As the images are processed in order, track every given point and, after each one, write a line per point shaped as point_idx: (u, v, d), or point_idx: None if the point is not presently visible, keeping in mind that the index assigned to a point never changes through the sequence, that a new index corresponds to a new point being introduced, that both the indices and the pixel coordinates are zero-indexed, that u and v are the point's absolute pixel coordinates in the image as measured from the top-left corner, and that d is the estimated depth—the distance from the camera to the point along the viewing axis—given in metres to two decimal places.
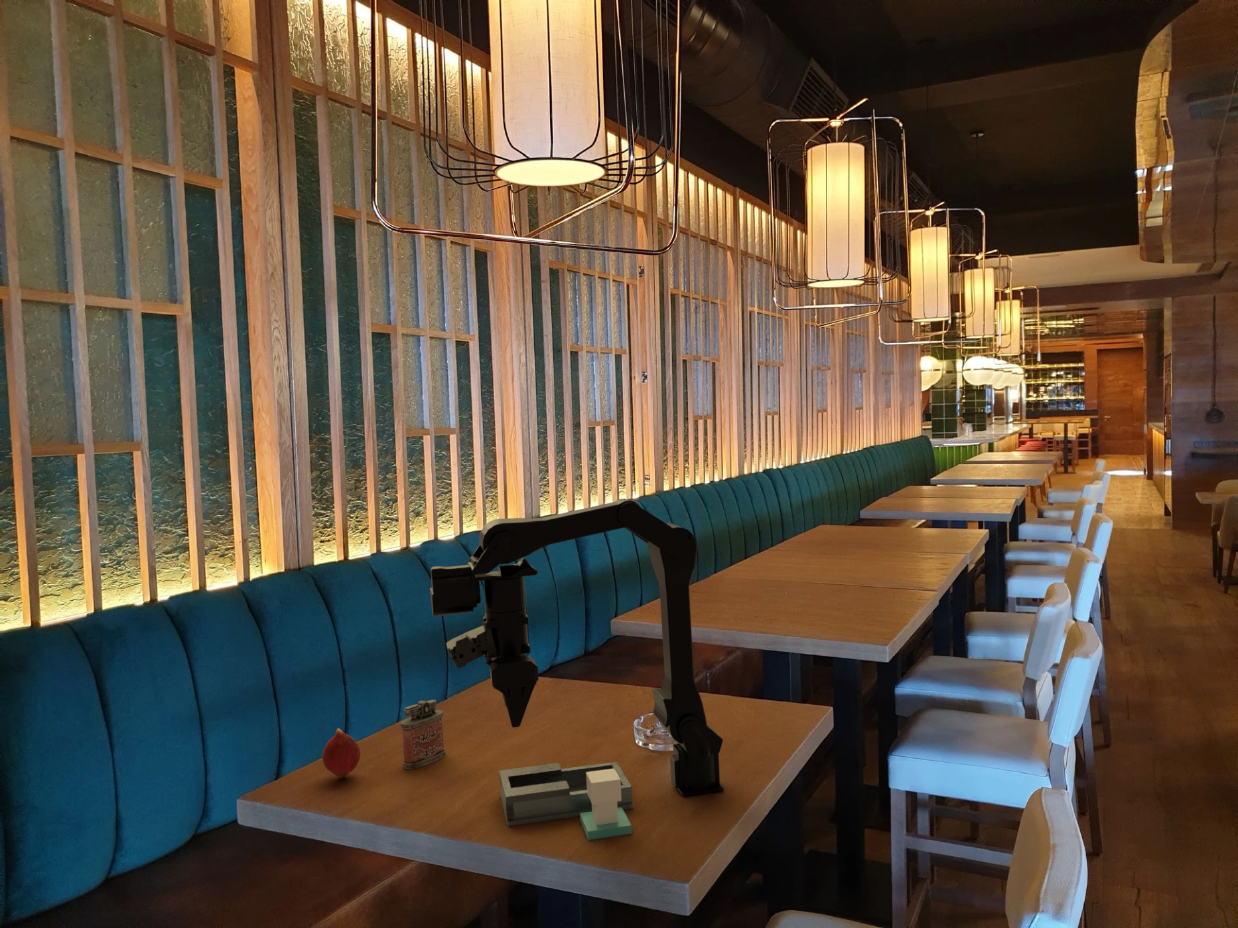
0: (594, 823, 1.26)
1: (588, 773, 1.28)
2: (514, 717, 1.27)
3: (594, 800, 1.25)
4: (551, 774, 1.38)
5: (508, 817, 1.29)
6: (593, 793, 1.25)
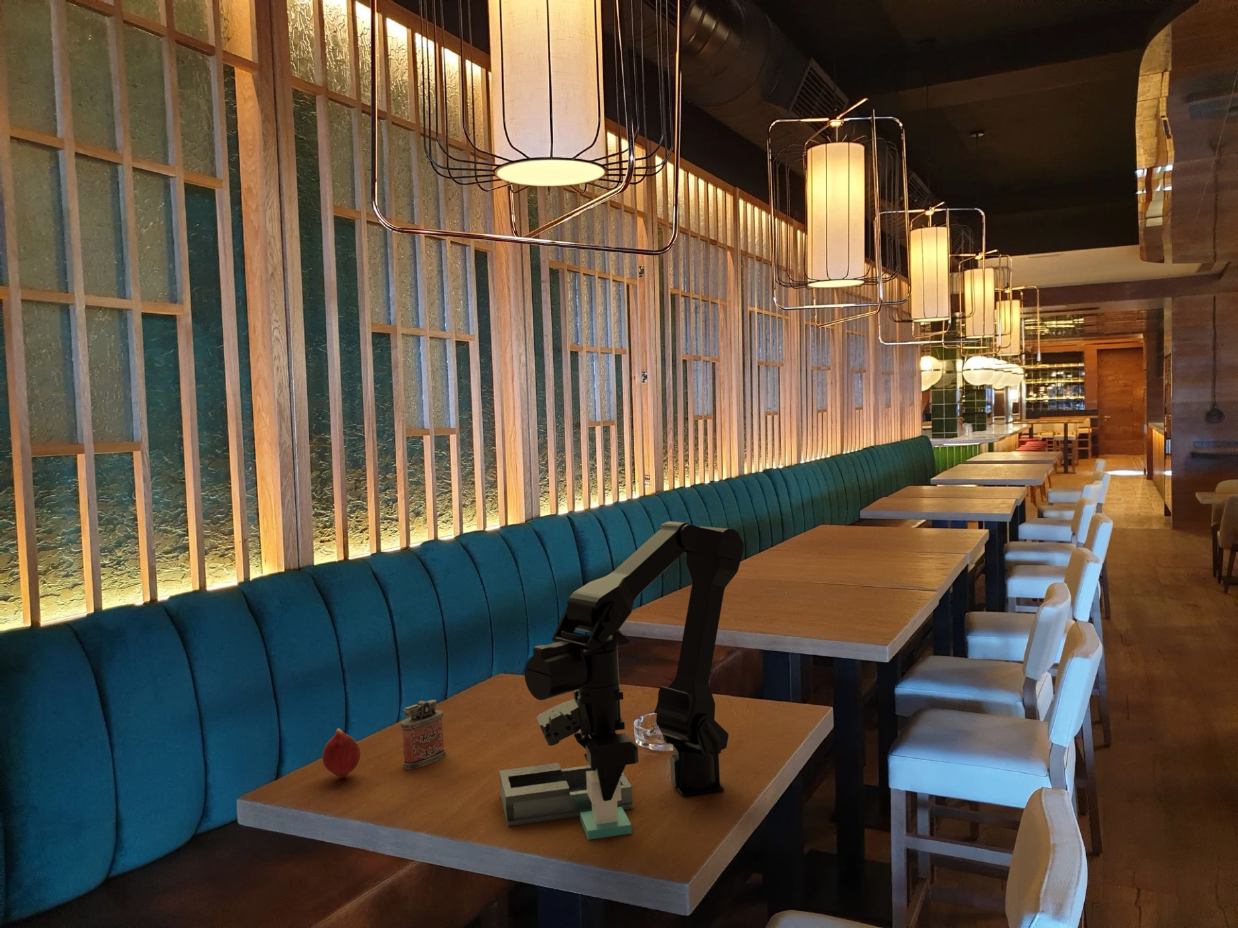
0: (594, 822, 1.26)
1: (588, 772, 1.28)
2: (606, 791, 1.24)
3: (594, 799, 1.25)
4: (551, 774, 1.38)
5: (508, 817, 1.29)
6: (593, 792, 1.25)
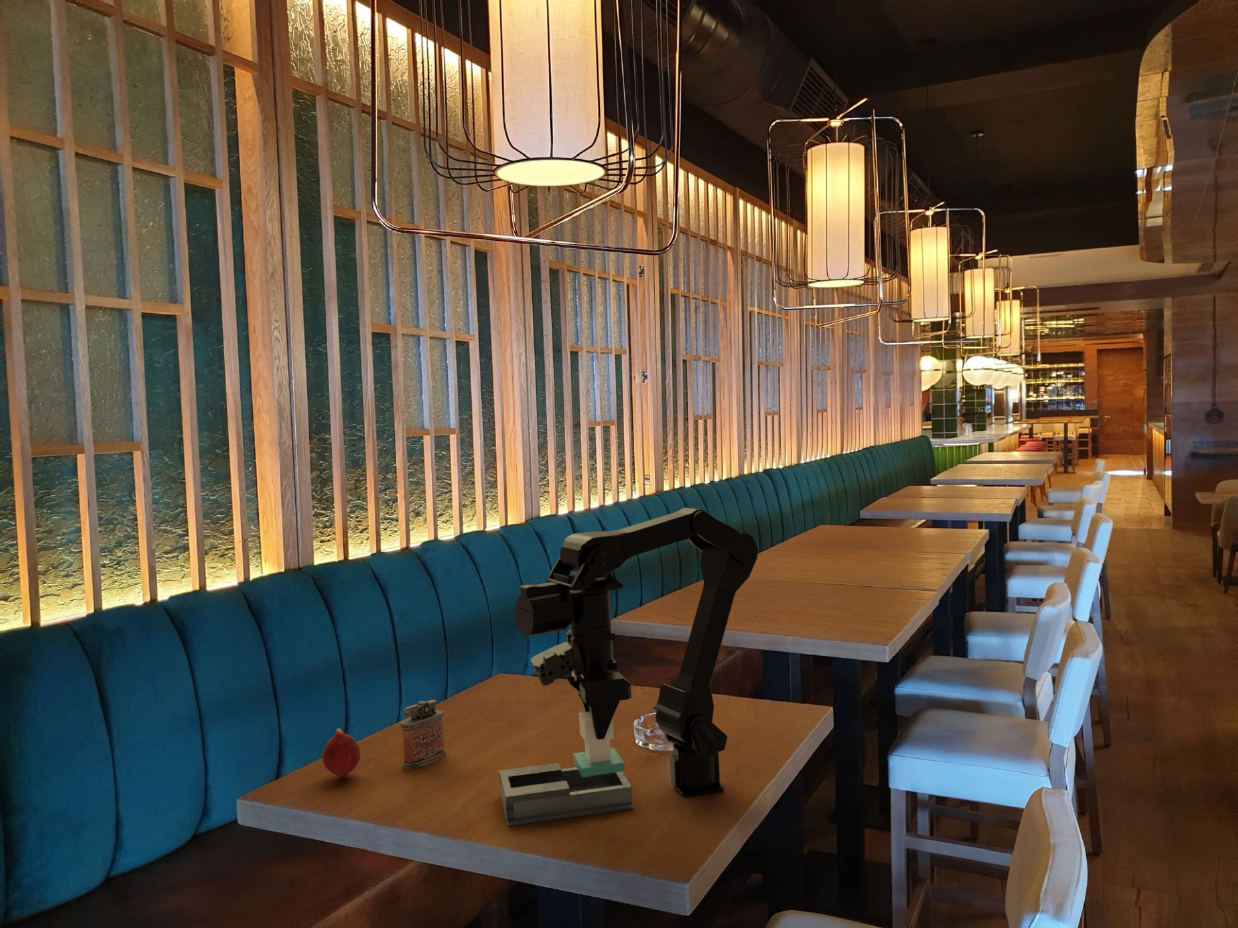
0: (587, 761, 1.29)
1: (581, 713, 1.31)
2: (599, 730, 1.27)
3: (587, 738, 1.28)
4: (551, 774, 1.38)
5: (508, 817, 1.29)
6: (586, 731, 1.28)
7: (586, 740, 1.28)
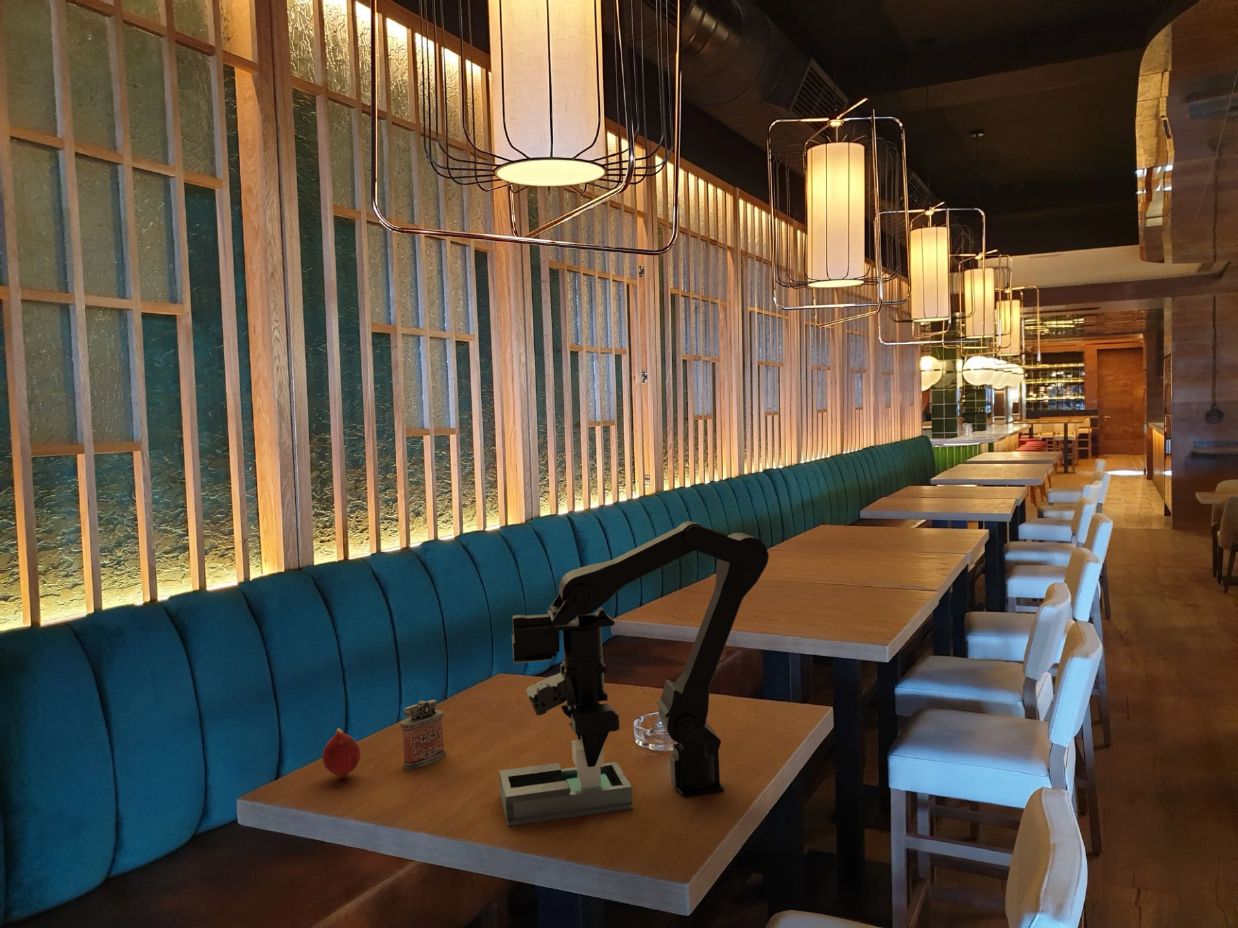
0: (579, 787, 1.36)
1: (573, 741, 1.38)
2: (590, 758, 1.34)
3: (579, 766, 1.34)
4: (551, 774, 1.38)
5: (508, 817, 1.29)
6: (578, 759, 1.34)
7: (577, 767, 1.34)
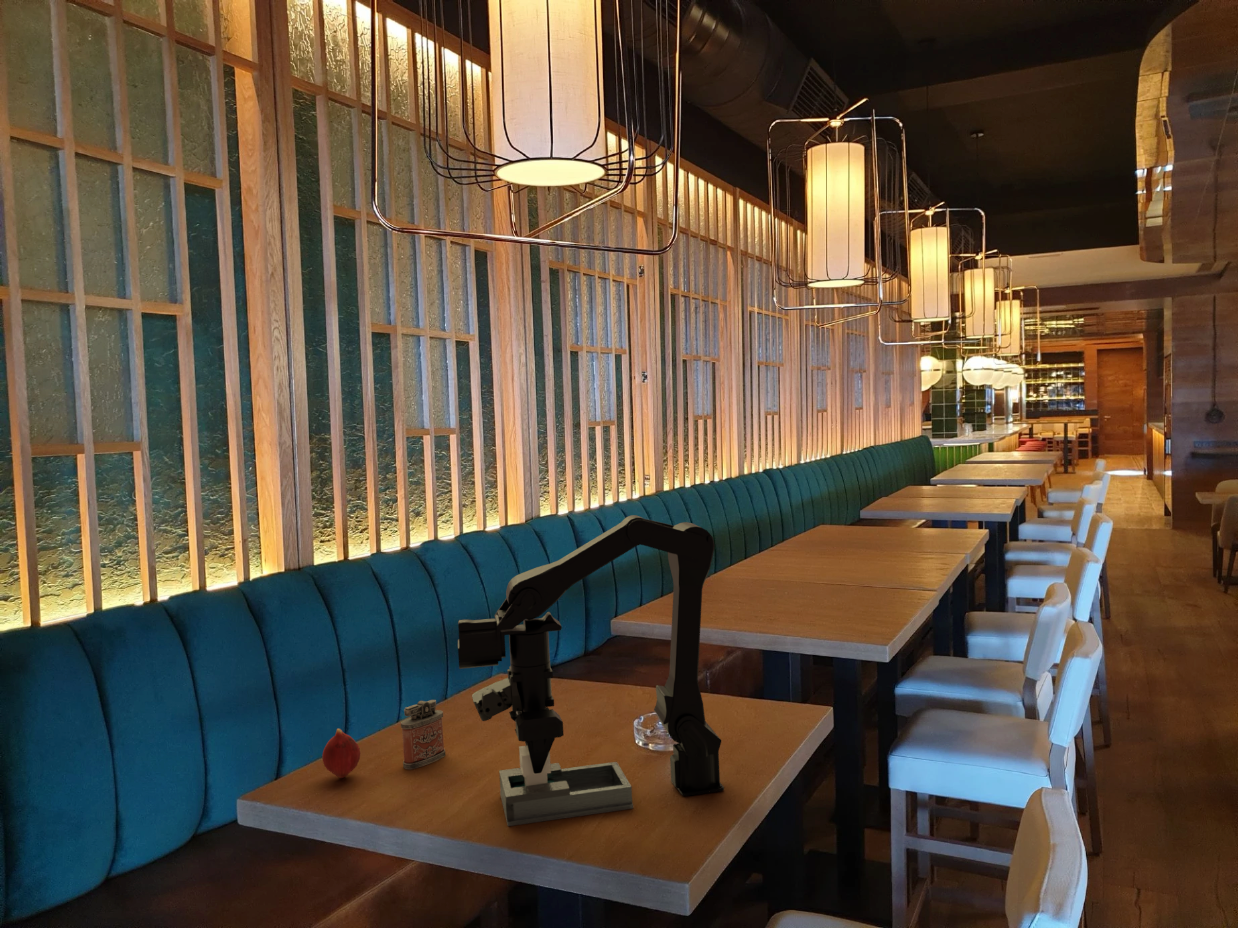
0: None
1: (521, 747, 1.36)
2: (536, 764, 1.32)
3: (525, 772, 1.33)
4: (551, 774, 1.38)
5: (508, 817, 1.29)
6: (524, 765, 1.33)
7: (523, 773, 1.33)
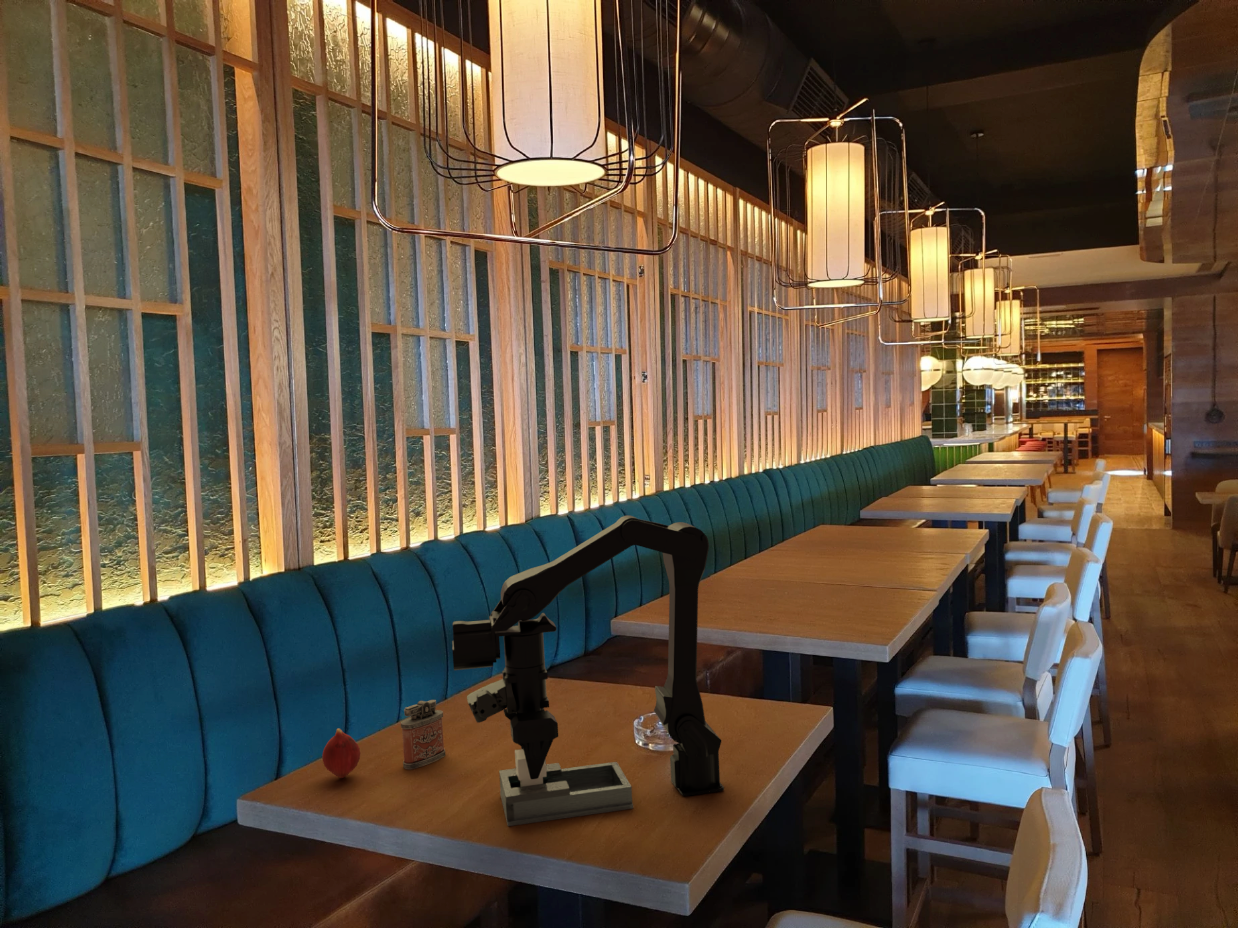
0: None
1: (516, 750, 1.36)
2: (532, 770, 1.30)
3: (520, 776, 1.33)
4: (551, 774, 1.38)
5: (508, 817, 1.29)
6: (519, 769, 1.32)
7: (519, 777, 1.33)
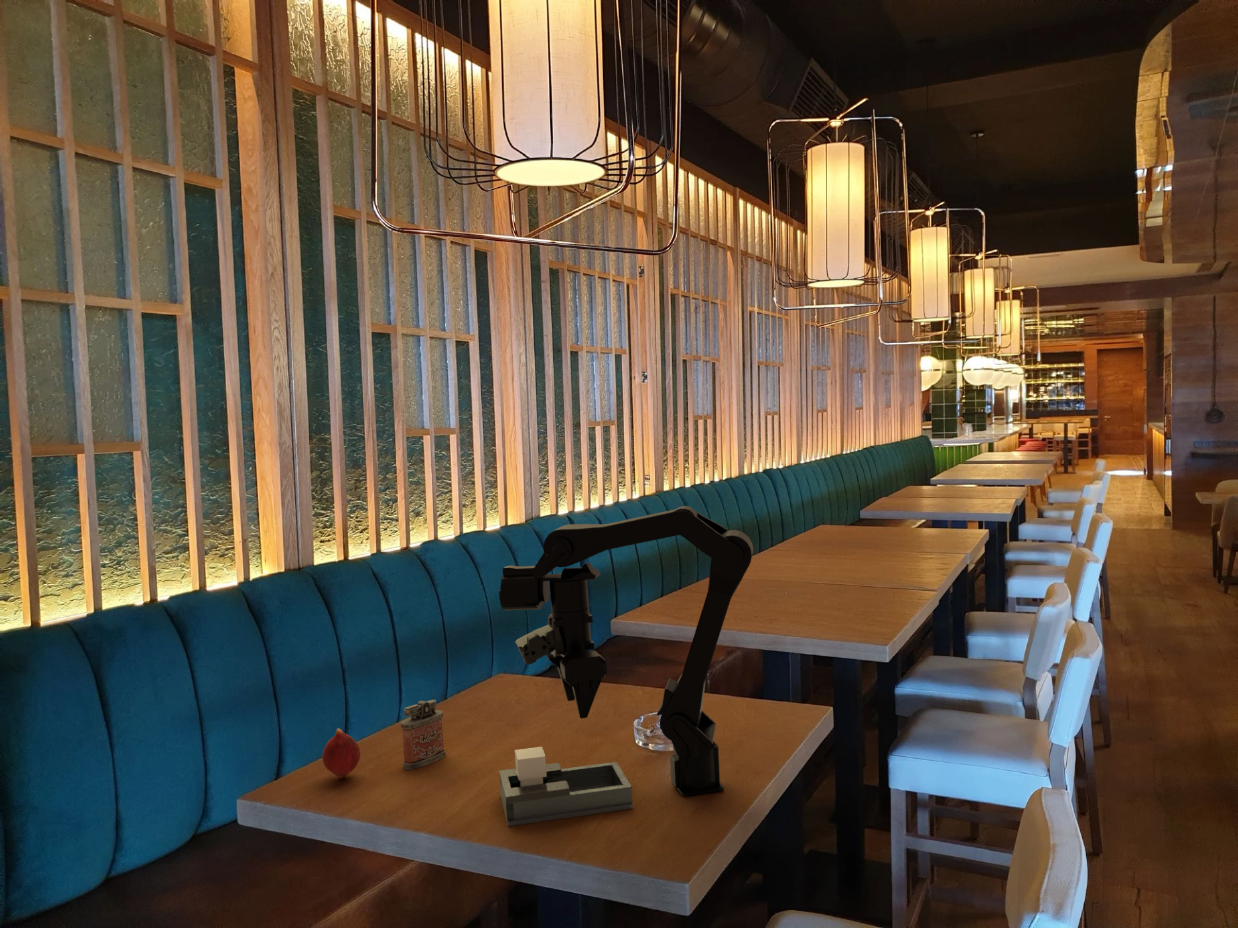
0: None
1: (516, 750, 1.36)
2: (582, 709, 1.37)
3: (520, 776, 1.33)
4: (551, 774, 1.38)
5: (508, 817, 1.29)
6: (519, 769, 1.32)
7: (519, 777, 1.33)
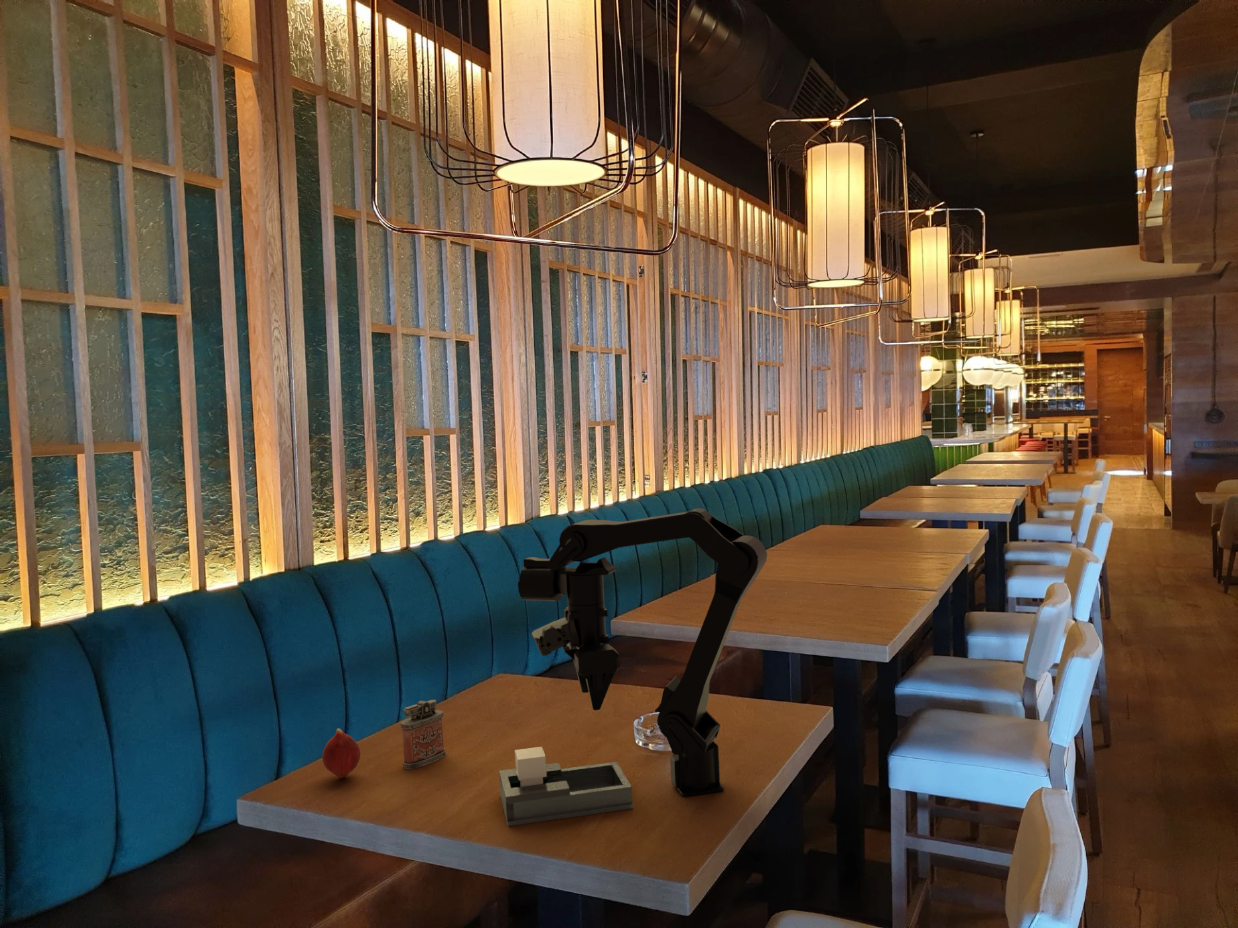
0: None
1: (516, 750, 1.36)
2: (595, 701, 1.39)
3: (520, 776, 1.33)
4: (551, 774, 1.38)
5: (508, 817, 1.29)
6: (519, 769, 1.32)
7: (519, 777, 1.33)
